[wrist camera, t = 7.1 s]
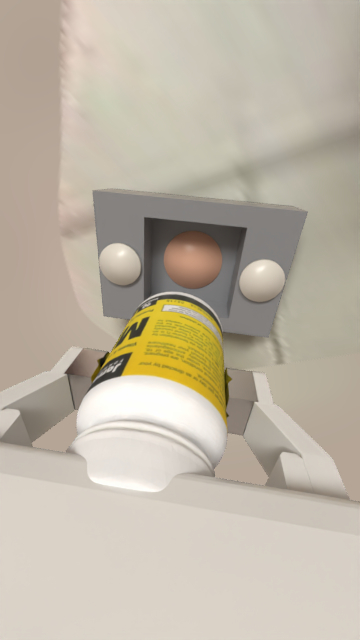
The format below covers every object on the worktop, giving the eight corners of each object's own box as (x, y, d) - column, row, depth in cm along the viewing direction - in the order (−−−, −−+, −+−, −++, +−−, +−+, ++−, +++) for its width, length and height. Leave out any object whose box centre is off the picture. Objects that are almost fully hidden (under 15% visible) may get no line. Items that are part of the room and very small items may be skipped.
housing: (292, 206, 21) (309, 212, 17) (261, 317, 27) (269, 340, 23) (111, 188, 22) (90, 190, 18) (117, 299, 28) (102, 318, 24)
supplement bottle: (150, 272, 11) (40, 435, 4) (240, 314, 12) (281, 524, 5) (120, 346, 14) (16, 533, 7) (196, 378, 14) (179, 585, 7)
